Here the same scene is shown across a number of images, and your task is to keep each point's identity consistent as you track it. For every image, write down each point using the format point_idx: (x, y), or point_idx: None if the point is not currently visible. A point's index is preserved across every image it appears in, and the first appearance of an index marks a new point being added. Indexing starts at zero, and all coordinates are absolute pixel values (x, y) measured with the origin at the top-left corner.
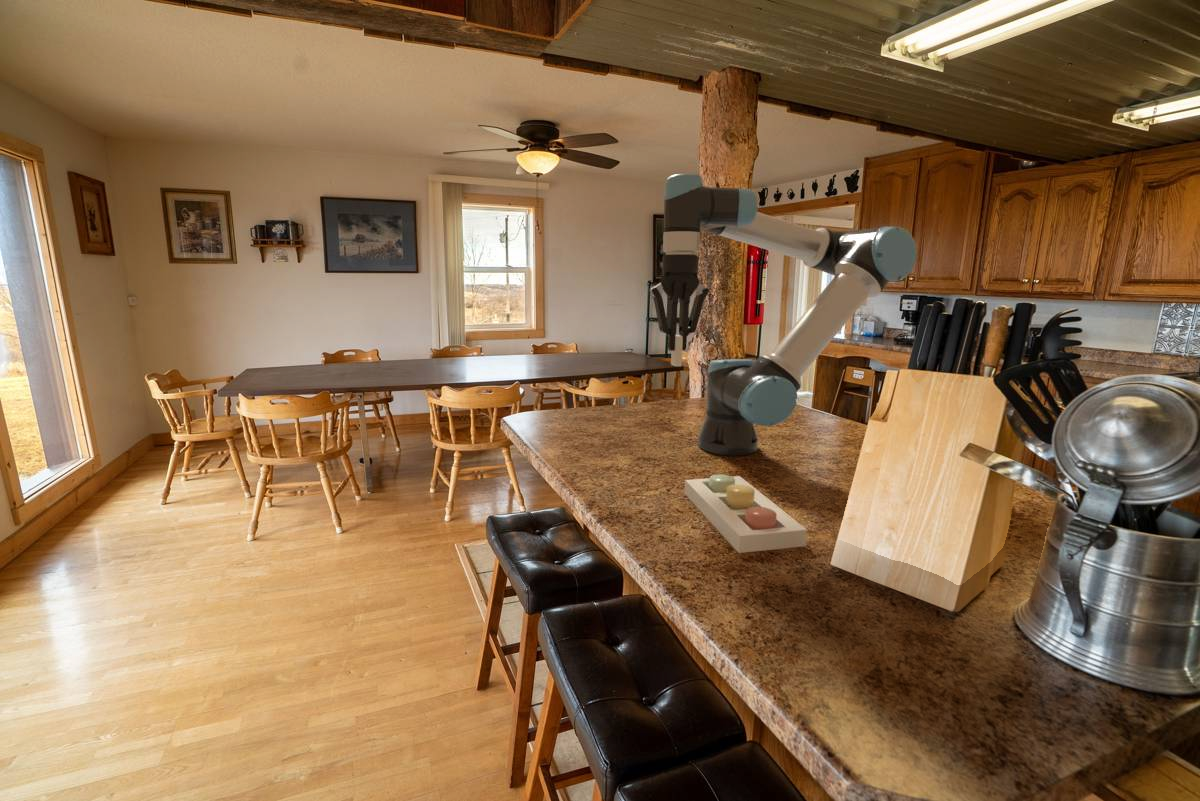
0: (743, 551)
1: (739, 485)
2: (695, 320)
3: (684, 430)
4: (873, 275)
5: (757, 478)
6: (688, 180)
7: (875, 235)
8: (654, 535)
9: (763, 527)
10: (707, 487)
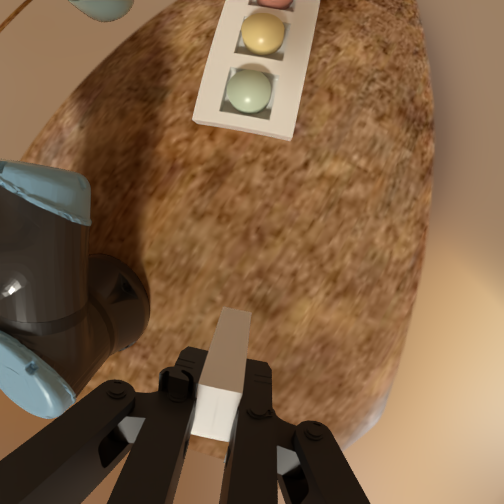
0: None
1: (253, 40)
2: (76, 427)
3: (135, 391)
4: None
5: (140, 155)
6: None
7: None
8: (391, 58)
9: None
10: (275, 95)
